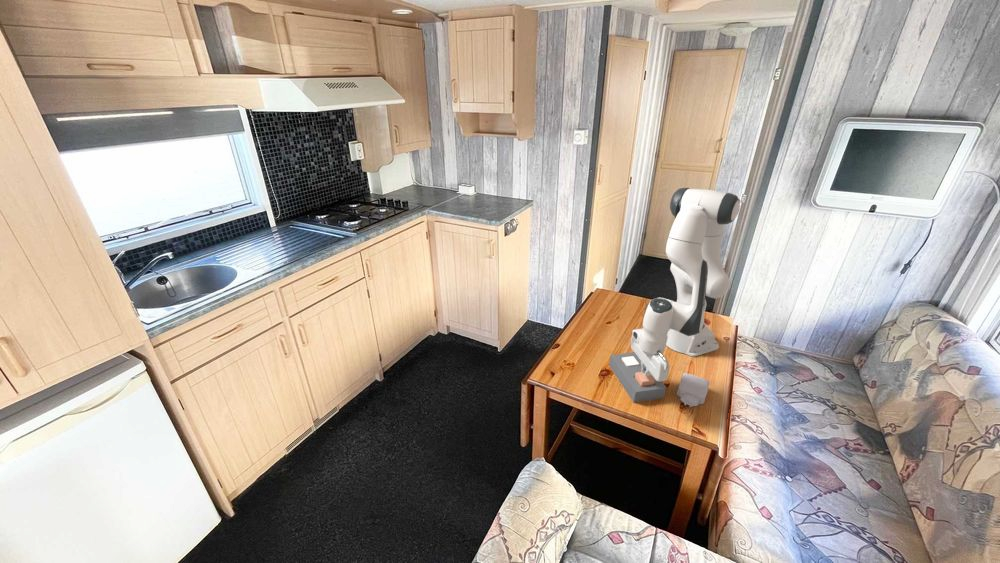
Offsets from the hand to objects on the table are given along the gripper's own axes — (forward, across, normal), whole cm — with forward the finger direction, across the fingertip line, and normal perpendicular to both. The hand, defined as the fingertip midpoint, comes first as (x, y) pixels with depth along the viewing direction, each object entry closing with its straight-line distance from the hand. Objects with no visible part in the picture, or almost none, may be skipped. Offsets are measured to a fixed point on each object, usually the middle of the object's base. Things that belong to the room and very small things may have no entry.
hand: (645, 373), depth 146 cm
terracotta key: (+4, 0, 0) cm, 4 cm away
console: (+8, +6, 0) cm, 10 cm away
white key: (+6, +11, 0) cm, 12 cm away
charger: (+9, -7, -16) cm, 19 cm away
